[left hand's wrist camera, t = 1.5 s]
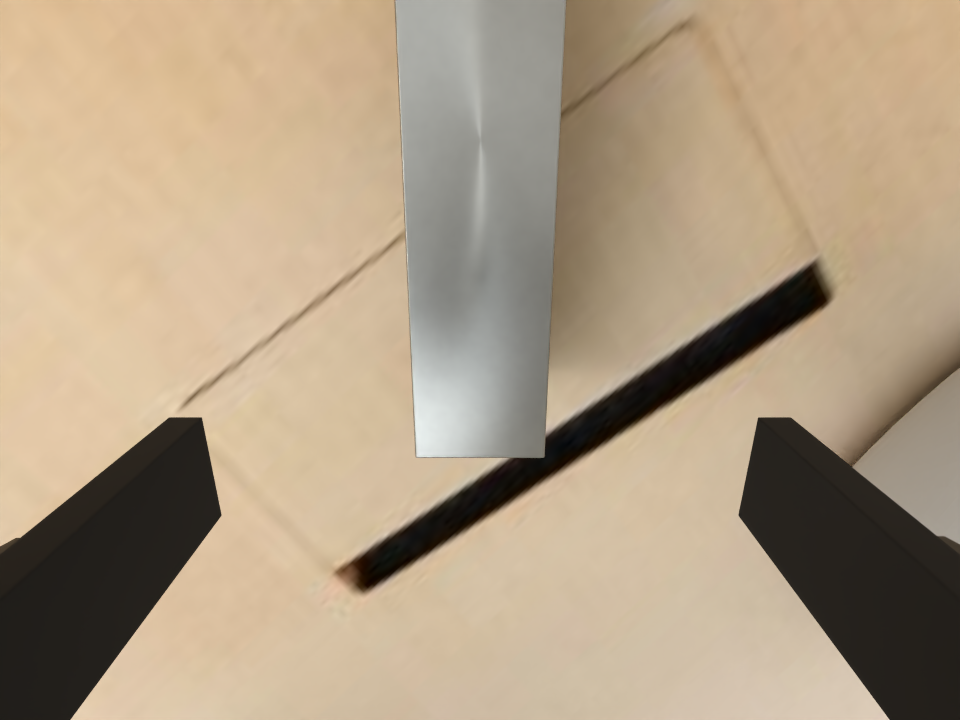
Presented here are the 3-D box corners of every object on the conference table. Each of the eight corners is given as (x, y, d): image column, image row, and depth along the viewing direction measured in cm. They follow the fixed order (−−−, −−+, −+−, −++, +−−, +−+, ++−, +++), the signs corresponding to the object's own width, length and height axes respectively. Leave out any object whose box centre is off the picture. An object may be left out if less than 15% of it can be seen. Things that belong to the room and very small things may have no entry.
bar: (524, 371, 28) (544, 458, 20) (434, 371, 28) (415, 458, 20) (541, -152, 21) (584, -371, 12) (418, -152, 21) (376, -372, 12)
